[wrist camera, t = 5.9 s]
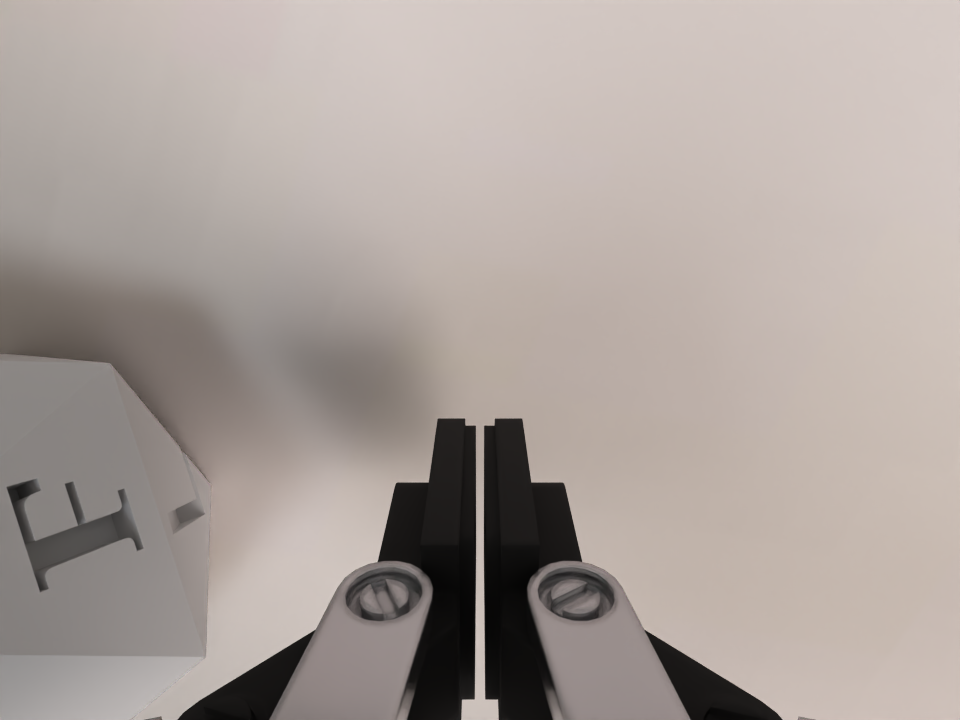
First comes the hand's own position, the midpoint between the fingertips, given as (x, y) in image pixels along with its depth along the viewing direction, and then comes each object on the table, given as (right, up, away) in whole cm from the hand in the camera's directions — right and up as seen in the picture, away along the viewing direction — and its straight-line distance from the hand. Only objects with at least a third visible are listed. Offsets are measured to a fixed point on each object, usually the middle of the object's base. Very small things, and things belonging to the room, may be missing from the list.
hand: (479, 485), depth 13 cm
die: (-10, 0, +3) cm, 10 cm away
